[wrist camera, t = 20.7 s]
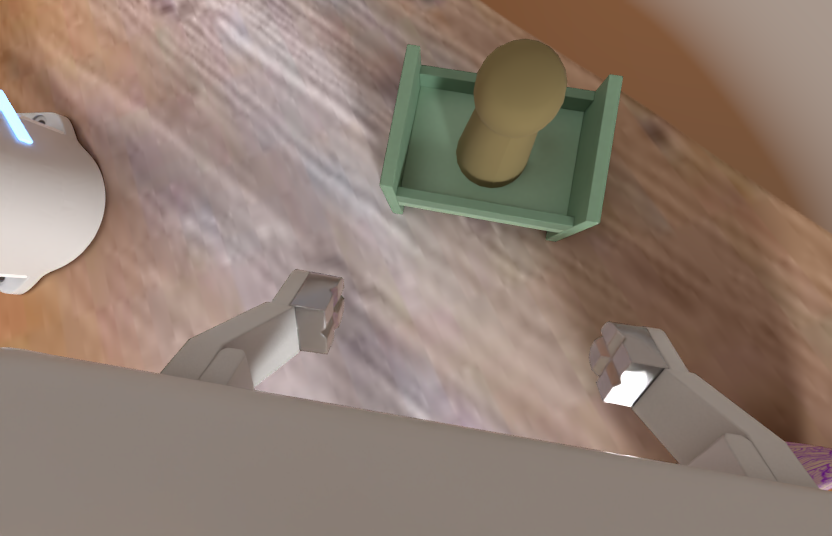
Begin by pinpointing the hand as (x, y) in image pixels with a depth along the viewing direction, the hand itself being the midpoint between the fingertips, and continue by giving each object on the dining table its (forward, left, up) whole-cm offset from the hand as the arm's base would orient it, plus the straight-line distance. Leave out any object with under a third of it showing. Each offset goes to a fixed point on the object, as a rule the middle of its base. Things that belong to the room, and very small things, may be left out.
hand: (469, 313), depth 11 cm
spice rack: (+2, +13, -23) cm, 27 cm away
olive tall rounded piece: (+2, +13, -18) cm, 22 cm away
